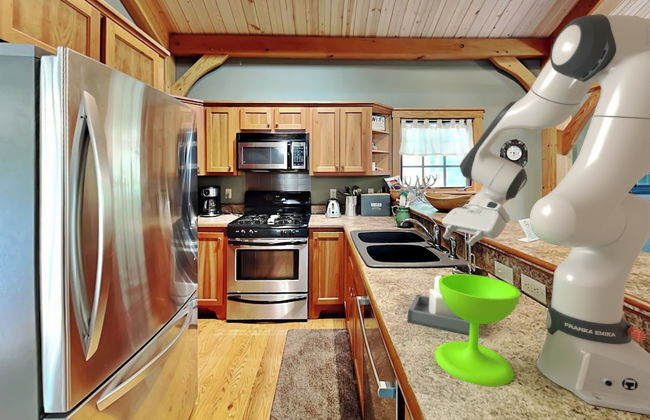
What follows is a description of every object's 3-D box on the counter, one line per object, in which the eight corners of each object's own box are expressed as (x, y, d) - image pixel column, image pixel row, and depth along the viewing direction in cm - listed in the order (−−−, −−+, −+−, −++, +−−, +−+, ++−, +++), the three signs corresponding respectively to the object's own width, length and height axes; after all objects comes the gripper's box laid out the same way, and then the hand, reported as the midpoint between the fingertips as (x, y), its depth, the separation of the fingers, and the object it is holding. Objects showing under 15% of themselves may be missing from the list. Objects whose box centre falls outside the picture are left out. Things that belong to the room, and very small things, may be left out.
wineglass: (481, 341, 78) (486, 273, 76) (532, 382, 62) (540, 297, 60) (422, 345, 76) (425, 275, 74) (460, 390, 60) (465, 301, 58)
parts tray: (477, 316, 92) (478, 305, 92) (477, 337, 80) (478, 324, 80) (416, 304, 100) (416, 294, 100) (407, 322, 88) (408, 310, 88)
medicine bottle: (452, 312, 93) (454, 274, 92) (460, 323, 86) (462, 281, 85) (428, 310, 94) (430, 272, 93) (434, 321, 87) (436, 280, 86)
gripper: (452, 200, 107) (428, 228, 104) (506, 205, 88) (478, 240, 85) (461, 212, 109) (438, 241, 106) (515, 220, 90) (488, 255, 87)
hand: (456, 241), depth 96 cm, fingers open, 8 cm apart
